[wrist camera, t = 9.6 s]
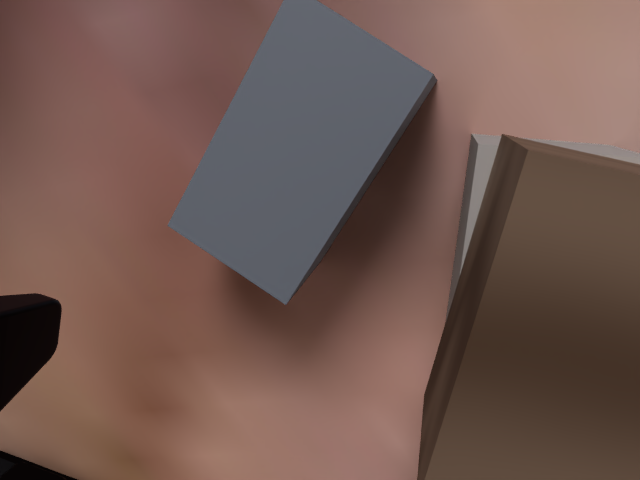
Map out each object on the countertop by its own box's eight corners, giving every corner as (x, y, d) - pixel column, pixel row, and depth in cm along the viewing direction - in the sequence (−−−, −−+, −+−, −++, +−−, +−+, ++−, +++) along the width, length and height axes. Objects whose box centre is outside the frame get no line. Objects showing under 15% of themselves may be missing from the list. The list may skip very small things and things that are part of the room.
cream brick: (565, 360, 21) (599, 437, 16) (442, 341, 21) (440, 409, 17) (608, 144, 18) (663, 159, 14) (471, 133, 19) (478, 143, 15)
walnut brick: (576, 440, 16) (630, 583, 11) (424, 394, 17) (414, 510, 12) (683, 173, 14) (806, 212, 9) (502, 133, 14) (527, 149, 10)
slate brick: (321, 260, 22) (285, 304, 17) (227, 198, 22) (167, 225, 17) (437, 80, 19) (433, 74, 14) (330, 12, 19) (292, -16, 15)
